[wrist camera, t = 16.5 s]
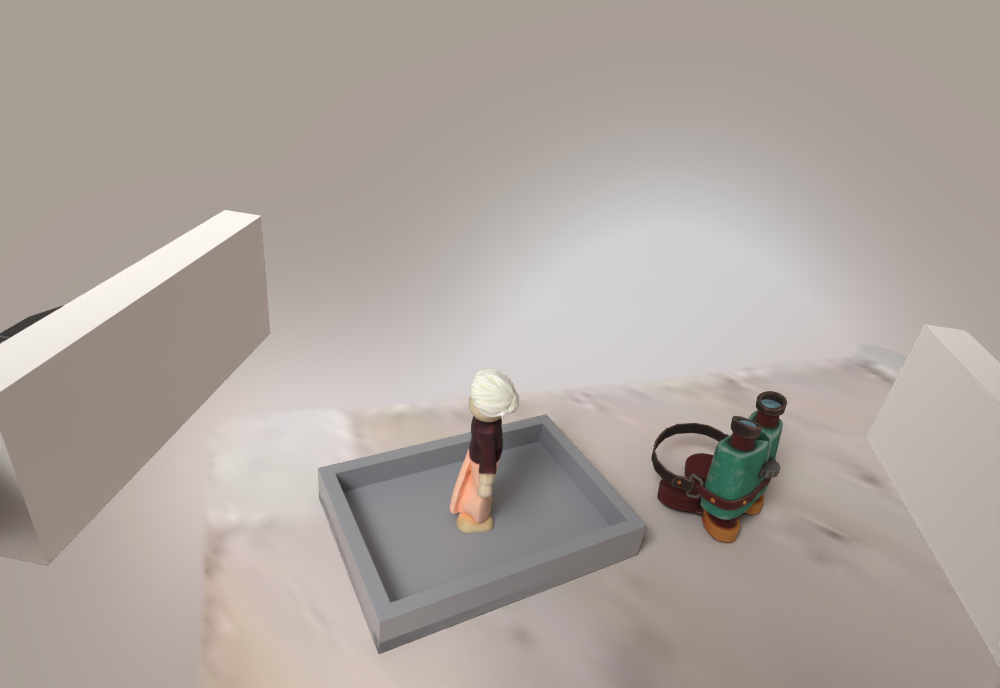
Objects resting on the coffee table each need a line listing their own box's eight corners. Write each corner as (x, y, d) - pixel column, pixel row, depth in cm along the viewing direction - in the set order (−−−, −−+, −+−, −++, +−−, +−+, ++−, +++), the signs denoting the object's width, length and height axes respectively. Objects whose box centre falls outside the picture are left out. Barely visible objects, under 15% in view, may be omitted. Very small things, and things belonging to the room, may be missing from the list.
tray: (541, 440, 58) (546, 414, 56) (637, 554, 47) (646, 525, 46) (319, 498, 49) (318, 468, 47) (378, 654, 38) (379, 622, 37)
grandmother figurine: (443, 481, 50) (456, 344, 44) (490, 479, 51) (510, 344, 45) (455, 559, 44) (472, 411, 37) (509, 555, 45) (535, 410, 38)
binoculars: (696, 354, 55) (815, 399, 49) (676, 455, 60) (782, 506, 54) (640, 390, 49) (767, 445, 43) (623, 498, 54) (735, 562, 48)
